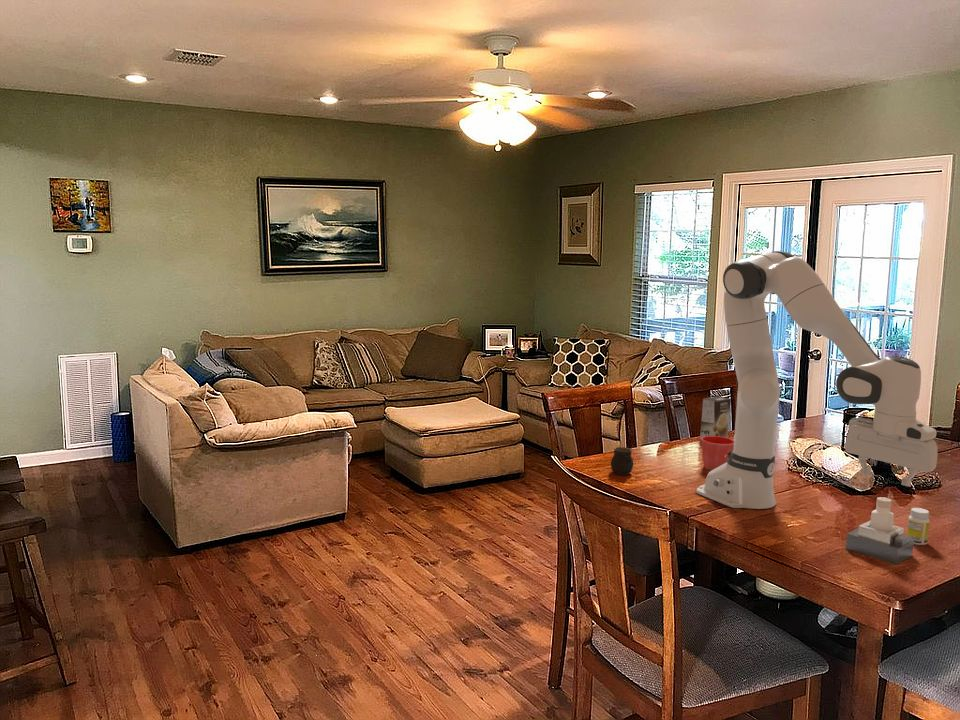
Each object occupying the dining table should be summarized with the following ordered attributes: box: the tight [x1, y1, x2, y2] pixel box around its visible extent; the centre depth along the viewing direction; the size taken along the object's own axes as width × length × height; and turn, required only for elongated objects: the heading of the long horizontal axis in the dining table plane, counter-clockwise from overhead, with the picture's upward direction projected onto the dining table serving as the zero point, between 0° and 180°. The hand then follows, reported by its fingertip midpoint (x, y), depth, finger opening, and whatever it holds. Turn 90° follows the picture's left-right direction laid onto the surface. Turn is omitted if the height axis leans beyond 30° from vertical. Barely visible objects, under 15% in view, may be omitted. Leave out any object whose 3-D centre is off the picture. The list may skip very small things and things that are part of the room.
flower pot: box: [700, 436, 734, 471], centre depth 259 cm, size 11×11×10 cm
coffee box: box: [699, 396, 732, 441], centre depth 295 cm, size 9×6×16 cm
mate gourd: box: [610, 445, 635, 476], centre depth 251 cm, size 7×8×10 cm
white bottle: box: [870, 496, 895, 533], centre depth 191 cm, size 4×4×10 cm
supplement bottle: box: [906, 507, 931, 546], centre depth 199 cm, size 5×5×8 cm
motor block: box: [845, 519, 914, 566], centre depth 192 cm, size 12×9×6 cm
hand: (885, 479), depth 190 cm, fingers open, 8 cm apart
